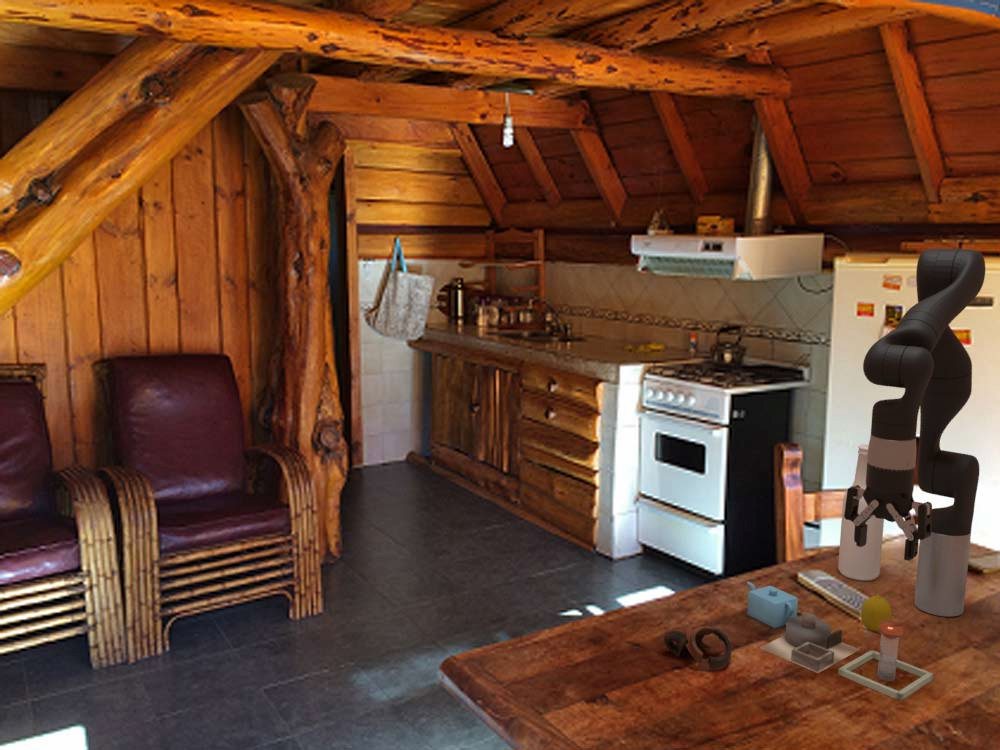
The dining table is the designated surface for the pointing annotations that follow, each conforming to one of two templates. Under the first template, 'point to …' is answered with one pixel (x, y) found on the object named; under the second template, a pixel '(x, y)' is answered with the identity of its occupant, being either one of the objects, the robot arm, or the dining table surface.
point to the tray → (898, 695)
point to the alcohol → (867, 558)
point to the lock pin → (888, 649)
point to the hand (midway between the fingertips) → (884, 552)
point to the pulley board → (810, 644)
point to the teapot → (771, 605)
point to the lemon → (875, 612)
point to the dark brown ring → (694, 640)
